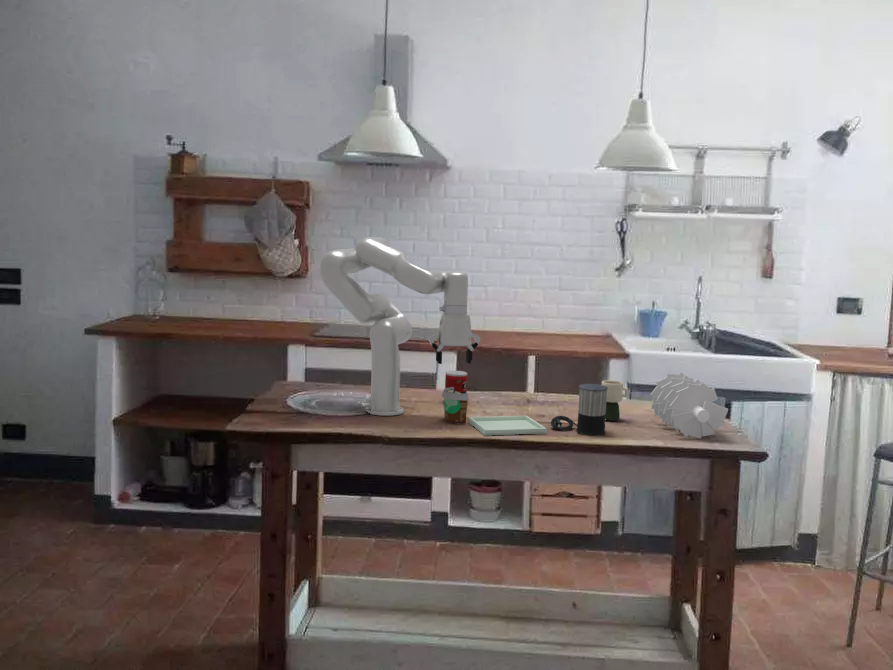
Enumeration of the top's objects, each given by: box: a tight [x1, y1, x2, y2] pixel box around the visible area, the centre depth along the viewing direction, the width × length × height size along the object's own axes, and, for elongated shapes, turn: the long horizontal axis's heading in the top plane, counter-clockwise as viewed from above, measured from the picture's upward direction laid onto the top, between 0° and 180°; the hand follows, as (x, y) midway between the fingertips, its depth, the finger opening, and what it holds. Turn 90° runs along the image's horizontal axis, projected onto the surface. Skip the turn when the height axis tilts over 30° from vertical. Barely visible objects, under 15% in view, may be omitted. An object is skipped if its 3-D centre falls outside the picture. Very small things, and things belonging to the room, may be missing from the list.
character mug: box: [601, 379, 629, 421], centre depth 315 cm, size 11×7×13 cm, turn 94°
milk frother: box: [550, 383, 608, 436], centre depth 298 cm, size 14×16×15 cm
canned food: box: [444, 370, 468, 394], centre depth 334 cm, size 8×8×11 cm
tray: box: [468, 415, 547, 437], centre depth 299 cm, size 20×18×2 cm
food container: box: [441, 387, 469, 424], centre depth 306 cm, size 12×6×10 cm, turn 23°
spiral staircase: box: [650, 371, 729, 439], centre depth 302 cm, size 18×18×25 cm
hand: (453, 363), depth 304 cm, fingers open, 9 cm apart
